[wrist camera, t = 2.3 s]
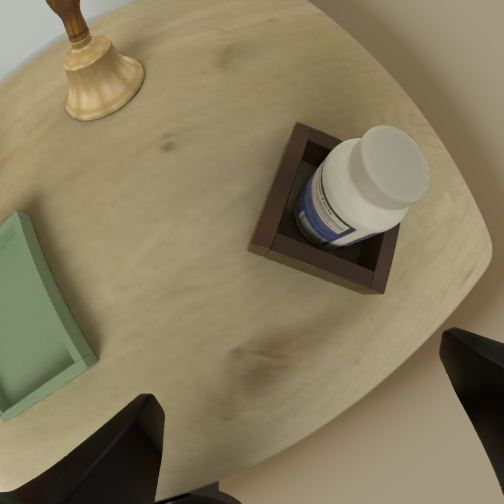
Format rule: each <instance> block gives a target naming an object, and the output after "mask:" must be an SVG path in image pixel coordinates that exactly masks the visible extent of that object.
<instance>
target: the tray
mask: <svg viewBox="0 0 504 504" xmlns="http://www.w3.org/2000/svg"><path fill="white" fill-rule="evenodd" d="M98 362H99V361H98V359H97V357H96V356H95V354H94V353H93V351H92V349H91V348H90V346H89V345H88V343H87V341H86V340H85V338H84V336H83V335H82V333H81V331H80V329H79V328H78V326H77V324H76V322H75V320H74V318H73V317H72V315H71V313H70V311H69V309H68V307H67V305H66V303H65V301H64V299H63V297H62V295H61V293H60V291H59V289H58V287H57V285H56V283H55V280H54V278H53V276H52V274H51V271H50V269H49V267H48V264H47V262H46V260H45V257H44V255H43V252H42V250H41V247H40V244H39V242H38V239H37V236H36V233H35V231H34V228H33V225H32V222H31V219H30V216H29V215H28V214H26V213H23V212H21V211H19V210H15V211H14V212H13V213H12V214H11V215H10V217H9V218H8V219H7V220H6V221H5V222H4V223H3V224H2V225H1V226H0V417H1V419H2V420H3V422H4V423H5V422H7V421H9V420H10V419H12V418H14V417H16V416H17V415H19V414H20V413H22V412H23V411H25V410H26V409H28V408H29V407H31V406H32V405H34V404H35V403H37V402H39V401H40V400H42V399H43V398H45V397H46V396H48V395H49V394H51V393H52V392H54V391H55V390H57V389H58V388H60V387H61V386H63V385H64V384H66V383H67V382H69V381H71V380H72V379H74V378H75V377H77V376H78V375H80V374H81V373H83V372H84V371H86V370H87V369H89V368H90V367H92V366H93V365H95V364H96V363H98Z"/></svg>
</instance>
